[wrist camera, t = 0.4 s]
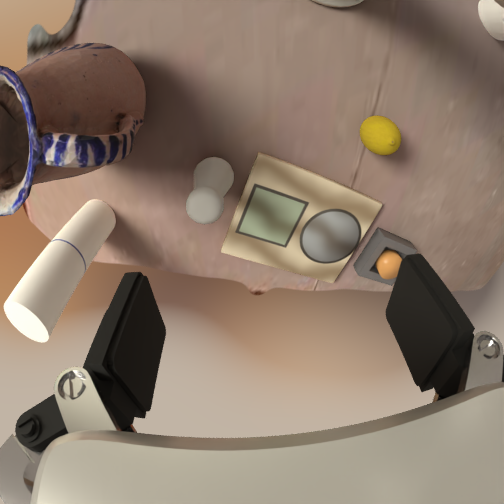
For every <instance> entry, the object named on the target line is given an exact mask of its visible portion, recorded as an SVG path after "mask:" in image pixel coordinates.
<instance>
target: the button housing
mask: <svg viewBox="0 0 504 504" xmlns="http://www.w3.org/2000/svg"><path fill="white" fill-rule="evenodd" d="M386 250H395V251H396V252H397V253H398V254H399V256H400V257H401V259H402V260H403V259H404V258H405V256H406V255H410V254H415V253H416V252H417V250H416V248H415V247H414V246H413V244H412V243H411V242H410V241H408V240H405V239H403V238H401V237H399V236H396V235H394V234H392V233H390V232H387V231H385V230H383V229H381V228H377V229H376V231H375V233H374V234H373V236H372V237H371V239H370V240H369V242H368V244H367V245H366V247H365V248H364V250H363V251H362V253H361V254H360V256H359V257H358V259H357V260H356V262H355V263H354V265H353V266H354V268H355V270H356V272H357V274H358V275H359V276H362V277H365V278H368V279H372V280H375V281H378V282H381V283H385V284H388V285H391V286H392V285H393V283H394V282H395V281H396V278H397V277H395V278H393V279H383V278H382V277H381V276H380V274H379V272H378V270H377V268H376V266H375V262H376V260H377V259H378V257H379V256H380V254H381V253H382V252H384V251H386Z"/></svg>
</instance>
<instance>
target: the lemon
mask: <svg viewBox="0 0 504 504" xmlns="http://www.w3.org/2000/svg"><path fill="white" fill-rule="evenodd" d="M360 137H361V140H362V142H363V144H364V145H365V147H366V148H368V149H369V150H370V151H372V152H373V153H375V154H379V155H389V154H392V153H394V152H395V151H396V150H397V149H398V148H399V146H400V143H401V134H400V131H399V129H398V127H397V126H396V125H395V124H394V123H393V122H392V121H391V120H390V119H388V118H386V117H383V116H371V117H369V118H367V119H366V120H364V122H363V123H362V125H361V127H360Z"/></svg>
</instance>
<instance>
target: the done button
mask: <svg viewBox="0 0 504 504" xmlns="http://www.w3.org/2000/svg"><path fill="white" fill-rule="evenodd" d="M401 261H402V259H401V257H400V256H399V254H398V253H397V252H396V251H395V250H386V251H384V252H382V253H381V254H380V256H379V257H378V259H377V260H376V262H375V266H376V268H377V270H378V272H379V274H380V276H381V277H382V278H383V279H393V278H395V277H397V274H398V271H399V267H400V264H401Z"/></svg>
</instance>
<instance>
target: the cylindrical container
mask: <svg viewBox="0 0 504 504" xmlns="http://www.w3.org/2000/svg"><path fill="white" fill-rule="evenodd" d="M115 224H116V218H115V214H114V212H113V210H112V208H111V207H110V206H109V205H108V204H107V203H105V202H103V201H101V200H97V199H94V200H90V201H88V202H87V203H86V204H85V205H84V206H83V207H82V208H81V209H80V210H79V211H78V212H77V213H76V214H75V215H74V216H73V217H72V218H71V219H70V220H69V222H68V223H67V224H66V225H65V226H64V227H63V228H62V229H61V230H60V232H59V233H58V234H57V235H56V236H55V237H54V238H53V240H52V241H51V242H50V243H49V244H48V246H47V247H46V248H45V249H44V251H43V252H42V253H41V254H40V255H39V257H38V258H37V259H36V260H35V262H34V263H33V264H32V266H31V267H30V268H29V269H28V271H27V272H26V273H25V275H24V276H23V278H22V279H21V280H20V282H19V283H18V285H17V286H16V287H15V289H14V290H13V292H12V293H11V295H10V296H9V298H8V299H7V301H6V302H5V304H4V310H5V313H6V315H7V317H8V319H9V320H10V321H11V323H12V324H13V325H14V326H15V327H16V328H17V329H18V330H19V331H20V332H21V333H23V334H24V335H25V336H27V337H29V338H30V339H32V340H35V341H37V342H46V341H48V339H49V337H50V335H51V333H52V330H53V329H54V327H55V325H56V323H57V321H58V319H59V317H60V315H61V313H62V312H63V310H64V308H65V306H66V304H67V303H68V301H69V299H70V297H71V295H72V294H73V292H74V290H75V288H76V287H77V285H78V283H79V282H80V280H81V278H82V276H83V275H84V273H85V272H86V270H87V268H88V267H89V265H90V264H91V262H92V260H93V259H94V257H95V256H96V254H97V253H98V251H99V250H100V248H101V247H102V245H103V244H104V242H105V241H106V239H107V238H108V236H109V235H110V233H111V232H112V230H113V229H114V227H115Z"/></svg>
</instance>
